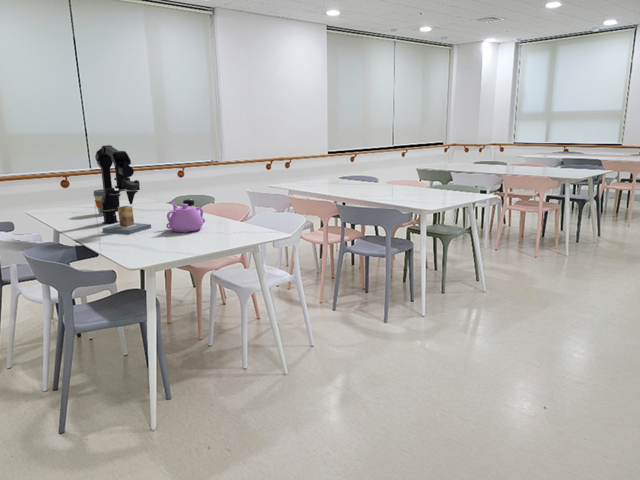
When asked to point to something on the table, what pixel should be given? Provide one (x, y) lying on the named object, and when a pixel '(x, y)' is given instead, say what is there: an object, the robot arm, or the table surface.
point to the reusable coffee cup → (98, 199)
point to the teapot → (185, 218)
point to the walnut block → (126, 221)
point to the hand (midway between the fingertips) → (124, 205)
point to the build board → (127, 228)
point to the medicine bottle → (189, 203)
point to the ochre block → (125, 211)
